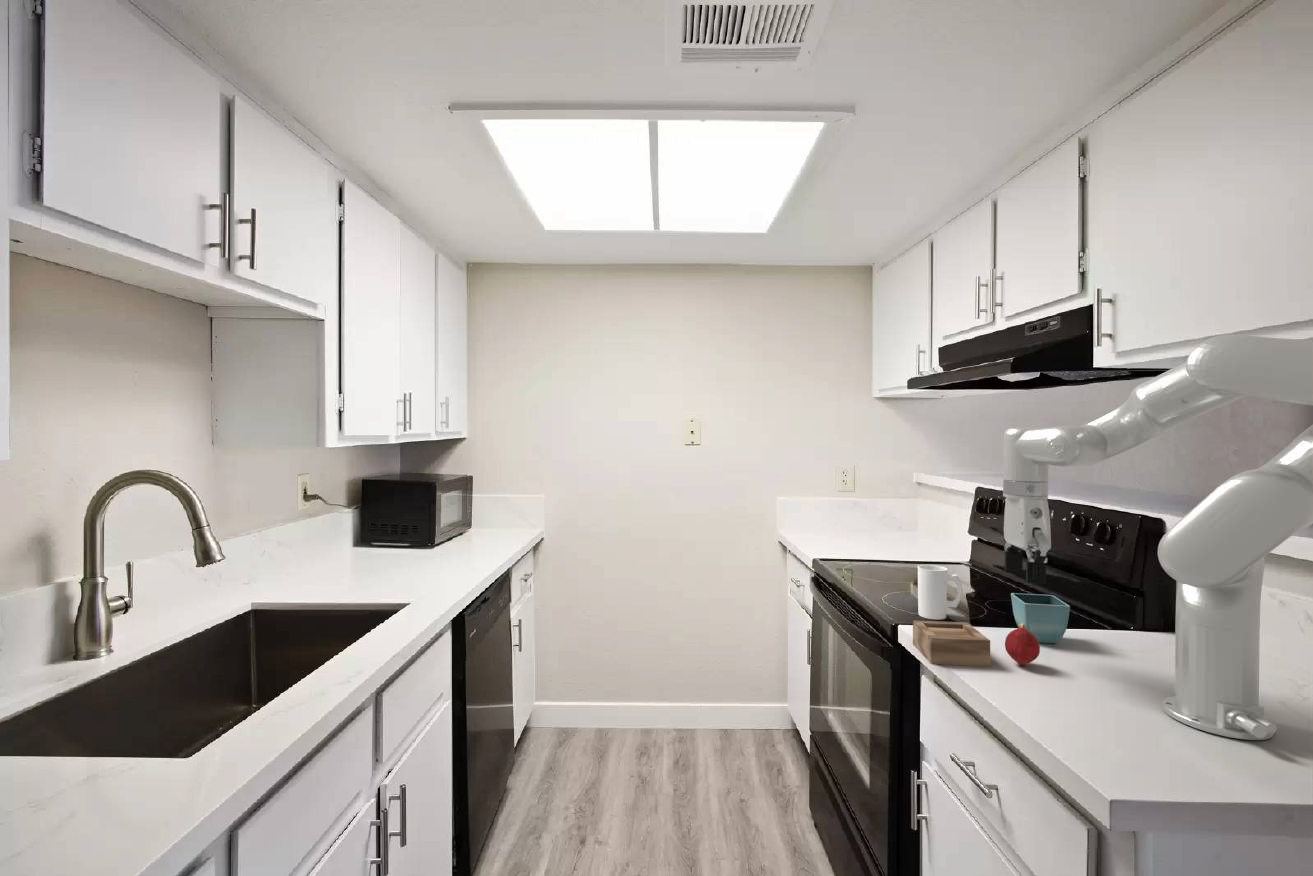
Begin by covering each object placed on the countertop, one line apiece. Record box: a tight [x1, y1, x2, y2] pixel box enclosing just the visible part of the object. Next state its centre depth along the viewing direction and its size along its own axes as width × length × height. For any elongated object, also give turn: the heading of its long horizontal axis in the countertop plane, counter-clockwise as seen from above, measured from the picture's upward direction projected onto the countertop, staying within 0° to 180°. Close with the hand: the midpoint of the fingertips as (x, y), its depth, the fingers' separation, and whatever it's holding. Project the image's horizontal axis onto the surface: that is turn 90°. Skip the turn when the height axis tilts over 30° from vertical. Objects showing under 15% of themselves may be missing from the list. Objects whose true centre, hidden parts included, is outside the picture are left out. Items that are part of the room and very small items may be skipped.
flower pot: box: [1010, 592, 1071, 644], centre depth 128 cm, size 9×9×9 cm
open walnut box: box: [912, 620, 991, 667], centre depth 119 cm, size 11×11×5 cm
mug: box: [917, 564, 964, 621], centre depth 144 cm, size 10×7×12 cm, turn 62°
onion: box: [1004, 623, 1041, 666], centre depth 114 cm, size 6×6×8 cm
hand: (1024, 576), depth 115 cm, fingers open, 9 cm apart
